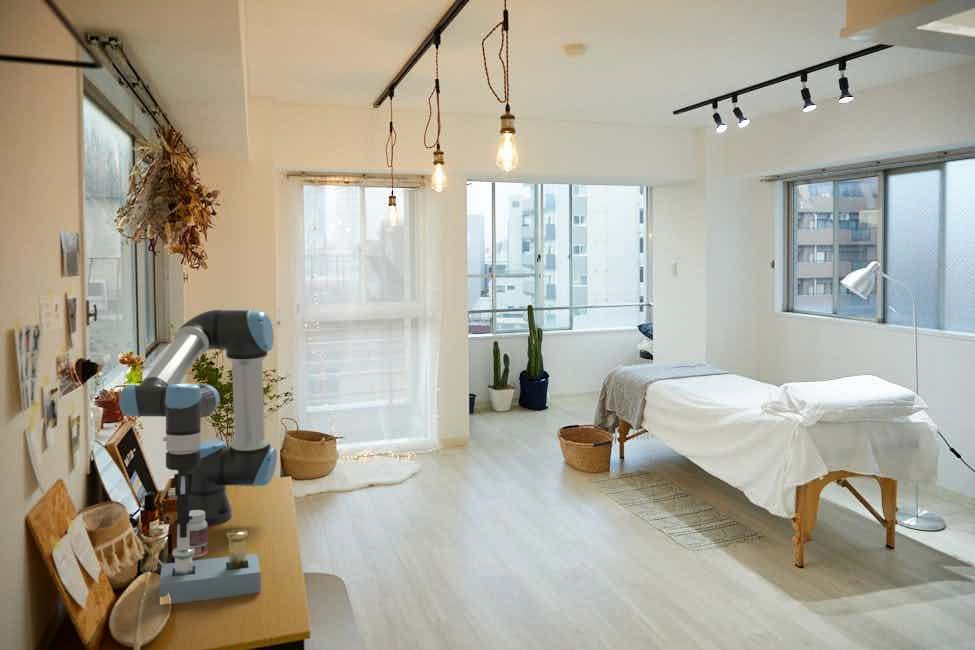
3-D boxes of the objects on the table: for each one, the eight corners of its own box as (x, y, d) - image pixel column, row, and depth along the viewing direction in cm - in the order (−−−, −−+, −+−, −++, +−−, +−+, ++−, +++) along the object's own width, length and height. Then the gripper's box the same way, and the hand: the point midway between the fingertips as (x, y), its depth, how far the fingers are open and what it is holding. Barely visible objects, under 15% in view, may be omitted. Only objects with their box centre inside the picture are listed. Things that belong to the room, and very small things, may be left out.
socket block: (162, 584, 176) (161, 564, 176) (257, 572, 184) (257, 553, 184) (159, 605, 165) (159, 584, 165) (260, 592, 173) (260, 572, 173)
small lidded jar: (173, 582, 174) (172, 547, 173) (194, 579, 176) (194, 545, 175) (172, 590, 169) (172, 554, 169) (194, 587, 171) (194, 552, 170)
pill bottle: (212, 551, 198) (212, 510, 197) (198, 559, 192) (198, 517, 191) (192, 548, 199) (192, 508, 198) (177, 557, 193) (177, 515, 192)
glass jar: (226, 564, 178) (226, 530, 177) (247, 562, 180) (247, 528, 179) (227, 572, 174) (227, 537, 173) (248, 569, 175) (248, 535, 175)
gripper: (167, 445, 175) (167, 541, 176) (164, 458, 163) (164, 561, 164) (200, 443, 178) (200, 538, 179) (200, 455, 166) (200, 557, 167)
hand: (183, 549), depth 172 cm, fingers closed
